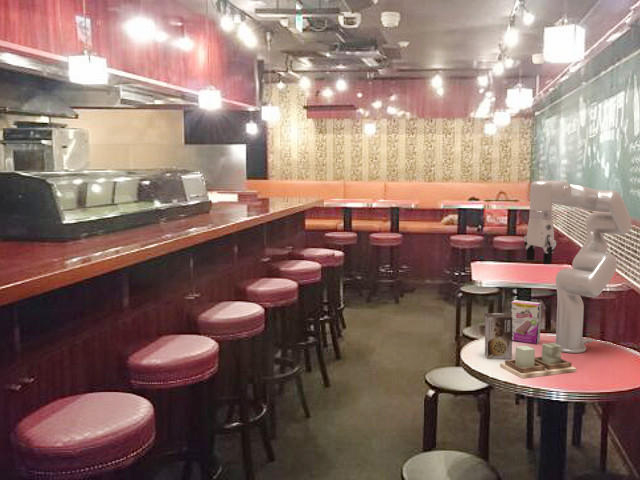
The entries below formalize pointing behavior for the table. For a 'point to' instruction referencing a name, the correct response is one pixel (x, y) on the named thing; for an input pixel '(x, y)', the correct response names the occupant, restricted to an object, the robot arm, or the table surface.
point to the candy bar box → (526, 321)
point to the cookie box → (498, 335)
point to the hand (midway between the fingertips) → (538, 262)
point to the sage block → (525, 356)
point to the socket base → (542, 364)
